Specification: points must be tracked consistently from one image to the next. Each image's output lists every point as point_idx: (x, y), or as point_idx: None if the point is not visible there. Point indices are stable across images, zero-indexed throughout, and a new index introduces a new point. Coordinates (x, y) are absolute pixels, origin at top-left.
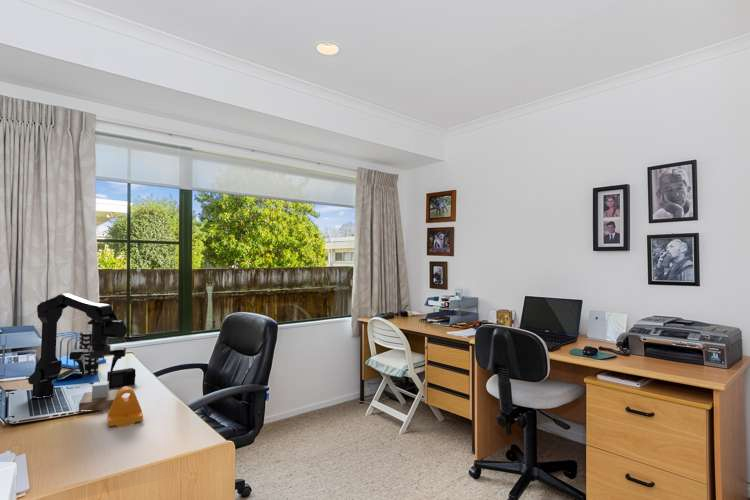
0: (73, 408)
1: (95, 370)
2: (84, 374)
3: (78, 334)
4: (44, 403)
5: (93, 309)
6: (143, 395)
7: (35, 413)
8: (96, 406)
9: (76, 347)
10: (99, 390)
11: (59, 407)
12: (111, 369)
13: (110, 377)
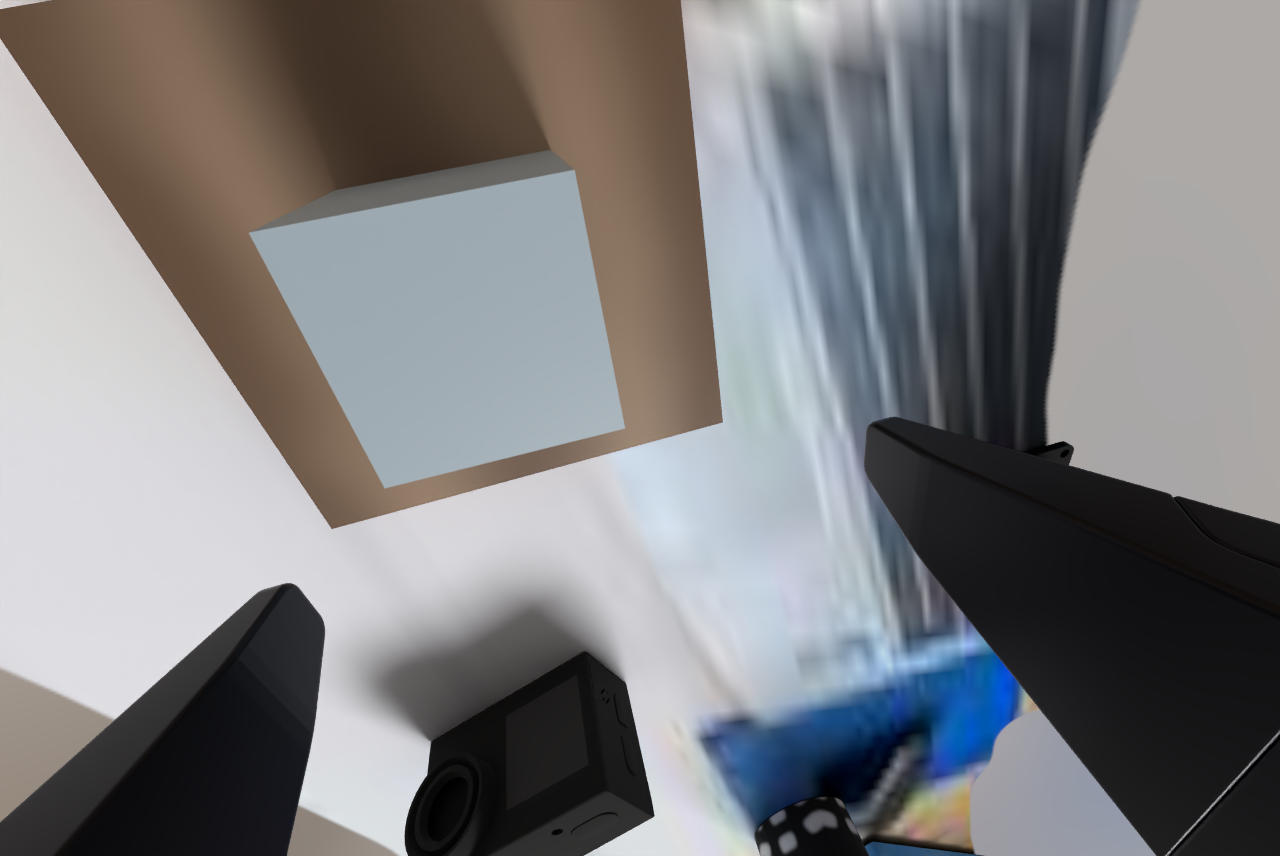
0: (737, 151)
1: (771, 845)
2: (876, 466)
3: None
4: (988, 352)
5: None
6: (120, 523)
7: (1066, 40)
8: None
9: None
10: (436, 185)
11: (873, 216)
12: (175, 695)
13: (599, 749)
